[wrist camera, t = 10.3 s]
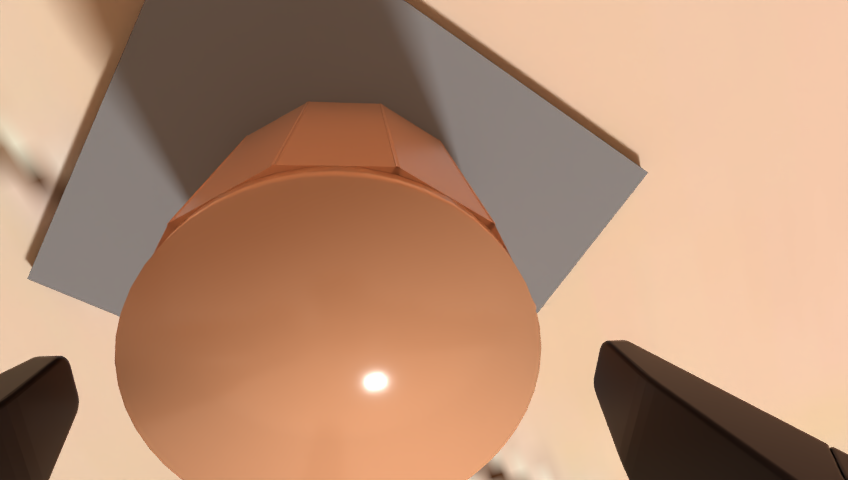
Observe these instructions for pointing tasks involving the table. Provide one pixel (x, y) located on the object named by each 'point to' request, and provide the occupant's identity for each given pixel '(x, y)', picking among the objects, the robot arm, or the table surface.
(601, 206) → the charcoal mat
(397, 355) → the terracotta cup
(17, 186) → the table surface
